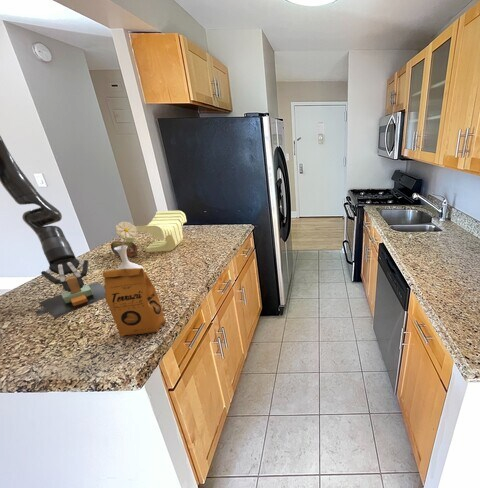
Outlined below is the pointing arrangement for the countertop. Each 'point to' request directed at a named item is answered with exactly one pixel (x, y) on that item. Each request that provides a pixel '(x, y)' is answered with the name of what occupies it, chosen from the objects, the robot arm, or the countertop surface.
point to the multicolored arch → (130, 249)
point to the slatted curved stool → (165, 230)
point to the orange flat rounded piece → (78, 300)
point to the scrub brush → (75, 289)
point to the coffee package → (133, 301)
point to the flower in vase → (126, 232)
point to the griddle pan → (59, 307)
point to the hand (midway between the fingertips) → (75, 288)
